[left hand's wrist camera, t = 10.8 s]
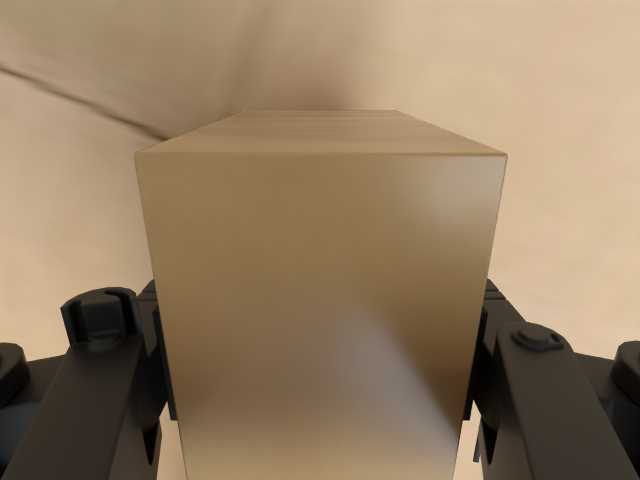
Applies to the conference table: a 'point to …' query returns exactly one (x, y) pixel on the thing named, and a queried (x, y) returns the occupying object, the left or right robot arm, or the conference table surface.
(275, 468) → the beam
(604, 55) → the conference table surface
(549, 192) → the conference table surface
